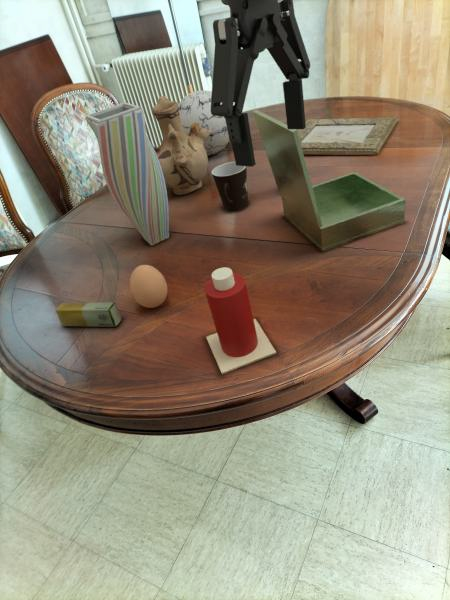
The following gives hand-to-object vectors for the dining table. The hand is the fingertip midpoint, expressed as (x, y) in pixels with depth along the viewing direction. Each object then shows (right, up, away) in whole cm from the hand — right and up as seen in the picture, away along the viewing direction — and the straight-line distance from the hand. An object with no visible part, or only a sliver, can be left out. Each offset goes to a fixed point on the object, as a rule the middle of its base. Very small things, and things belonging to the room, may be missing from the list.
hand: (272, 145), depth 59 cm
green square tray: (+19, -4, +33) cm, 38 cm away
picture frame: (+29, +28, +71) cm, 82 cm away
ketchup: (-4, -29, +8) cm, 30 cm away
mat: (-4, -29, +8) cm, 31 cm away
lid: (+6, +4, +22) cm, 23 cm away
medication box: (-32, -26, +21) cm, 47 cm away
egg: (-20, -23, +22) cm, 38 cm away
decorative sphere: (-12, +29, +85) cm, 91 cm away
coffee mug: (-5, +1, +48) cm, 48 cm away
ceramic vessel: (-18, +10, +64) cm, 67 cm away
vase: (-24, -7, +44) cm, 50 cm away
